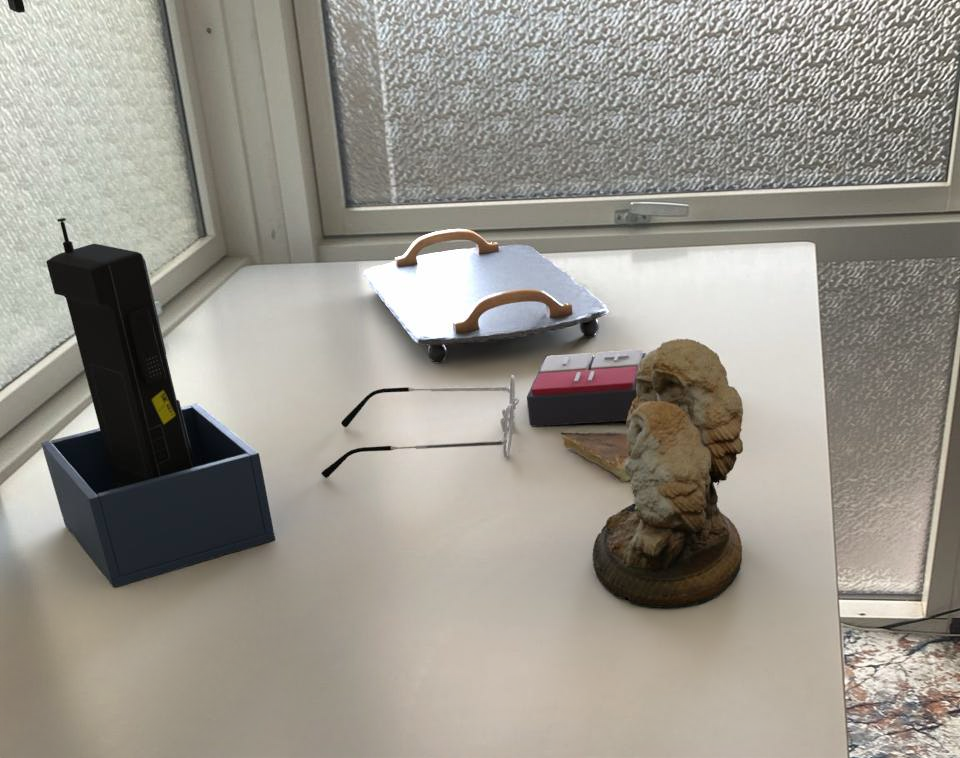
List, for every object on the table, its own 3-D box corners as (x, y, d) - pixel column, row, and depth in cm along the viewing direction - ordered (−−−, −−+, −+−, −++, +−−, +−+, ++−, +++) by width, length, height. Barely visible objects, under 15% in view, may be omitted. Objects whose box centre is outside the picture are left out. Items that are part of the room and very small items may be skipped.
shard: (560, 447, 127) (559, 429, 126) (629, 429, 129) (629, 411, 128) (618, 484, 119) (618, 464, 118) (691, 464, 121) (691, 444, 120)
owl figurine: (592, 513, 115) (586, 308, 104) (731, 507, 113) (739, 298, 103) (593, 613, 100) (586, 387, 90) (751, 607, 99) (763, 377, 89)
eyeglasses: (518, 474, 123) (514, 420, 120) (319, 484, 125) (311, 432, 122) (524, 411, 135) (521, 362, 132) (344, 422, 137) (336, 373, 134)
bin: (113, 588, 111) (88, 499, 106) (65, 525, 122) (40, 442, 117) (275, 540, 116) (259, 453, 111) (214, 484, 127) (197, 403, 122)
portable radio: (221, 521, 118) (156, 216, 102) (166, 546, 115) (91, 235, 99) (168, 501, 122) (98, 206, 107) (114, 525, 119) (34, 224, 104)
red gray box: (542, 352, 138) (688, 341, 135) (546, 393, 141) (689, 384, 137) (524, 389, 130) (680, 379, 126) (529, 433, 132) (681, 423, 129)
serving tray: (358, 287, 176) (351, 237, 173) (525, 261, 180) (522, 211, 176) (424, 375, 147) (418, 317, 143) (623, 341, 150) (622, 283, 146)
